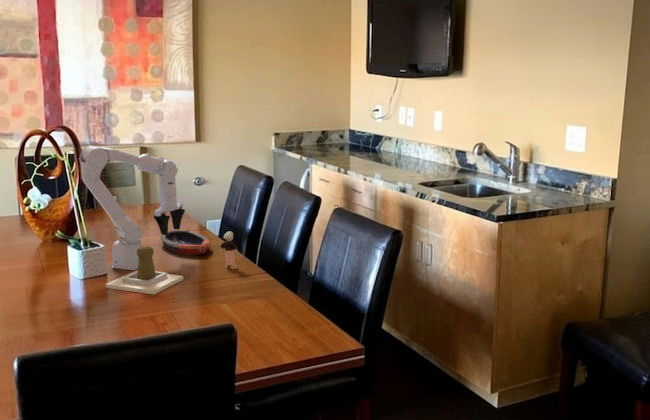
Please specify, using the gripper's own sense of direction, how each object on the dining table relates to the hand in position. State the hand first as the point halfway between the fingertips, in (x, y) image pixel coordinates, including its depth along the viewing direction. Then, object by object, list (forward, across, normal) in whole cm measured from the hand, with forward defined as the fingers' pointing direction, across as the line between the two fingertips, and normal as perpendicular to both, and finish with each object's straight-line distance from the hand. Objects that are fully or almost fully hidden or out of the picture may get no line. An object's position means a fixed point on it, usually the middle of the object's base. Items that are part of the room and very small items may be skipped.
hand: (170, 231), depth 241 cm
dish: (+11, +15, +4) cm, 19 cm away
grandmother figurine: (+11, 0, -24) cm, 26 cm away
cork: (+9, -26, -8) cm, 29 cm away
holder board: (+10, -26, -8) cm, 29 cm away
